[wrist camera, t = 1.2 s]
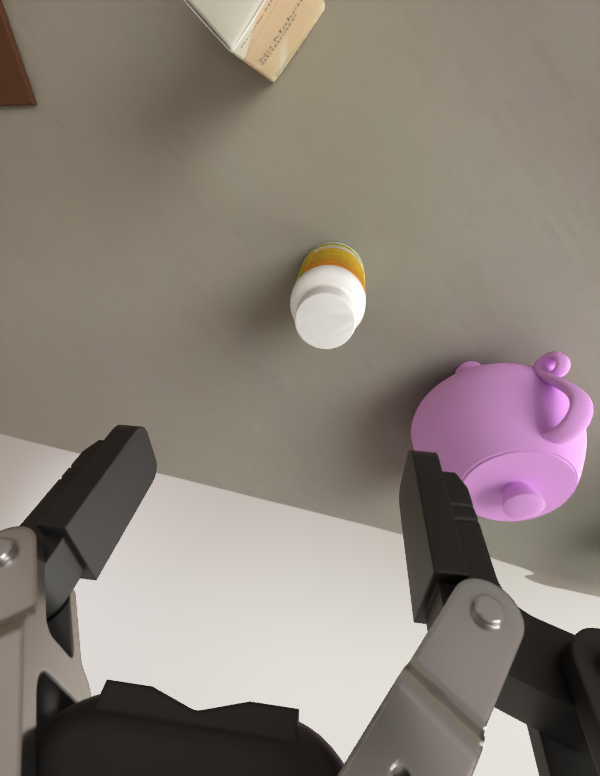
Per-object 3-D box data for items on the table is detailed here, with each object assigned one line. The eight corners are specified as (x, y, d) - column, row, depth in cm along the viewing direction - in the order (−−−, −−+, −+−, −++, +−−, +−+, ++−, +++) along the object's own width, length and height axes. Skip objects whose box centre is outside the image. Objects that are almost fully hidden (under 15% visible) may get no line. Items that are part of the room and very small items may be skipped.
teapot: (479, 489, 44) (515, 596, 34) (369, 454, 43) (374, 554, 33) (611, 356, 33) (725, 458, 23) (466, 302, 32) (519, 385, 21)
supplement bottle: (299, 241, 30) (280, 281, 22) (366, 240, 30) (370, 281, 22) (302, 303, 33) (285, 357, 26) (362, 303, 33) (364, 360, 25)
